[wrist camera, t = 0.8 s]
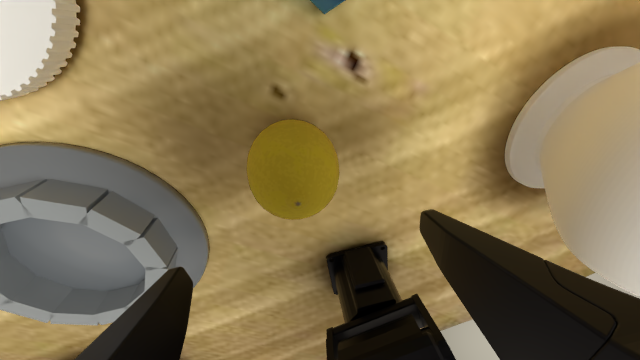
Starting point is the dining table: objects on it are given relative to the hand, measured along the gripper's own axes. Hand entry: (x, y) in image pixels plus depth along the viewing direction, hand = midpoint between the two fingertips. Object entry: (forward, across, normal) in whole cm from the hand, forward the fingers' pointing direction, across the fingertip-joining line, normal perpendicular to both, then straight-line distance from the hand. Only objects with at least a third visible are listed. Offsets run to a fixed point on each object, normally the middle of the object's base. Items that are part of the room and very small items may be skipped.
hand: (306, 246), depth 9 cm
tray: (+11, +18, +5) cm, 22 cm away
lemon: (+11, 0, 0) cm, 11 cm away
